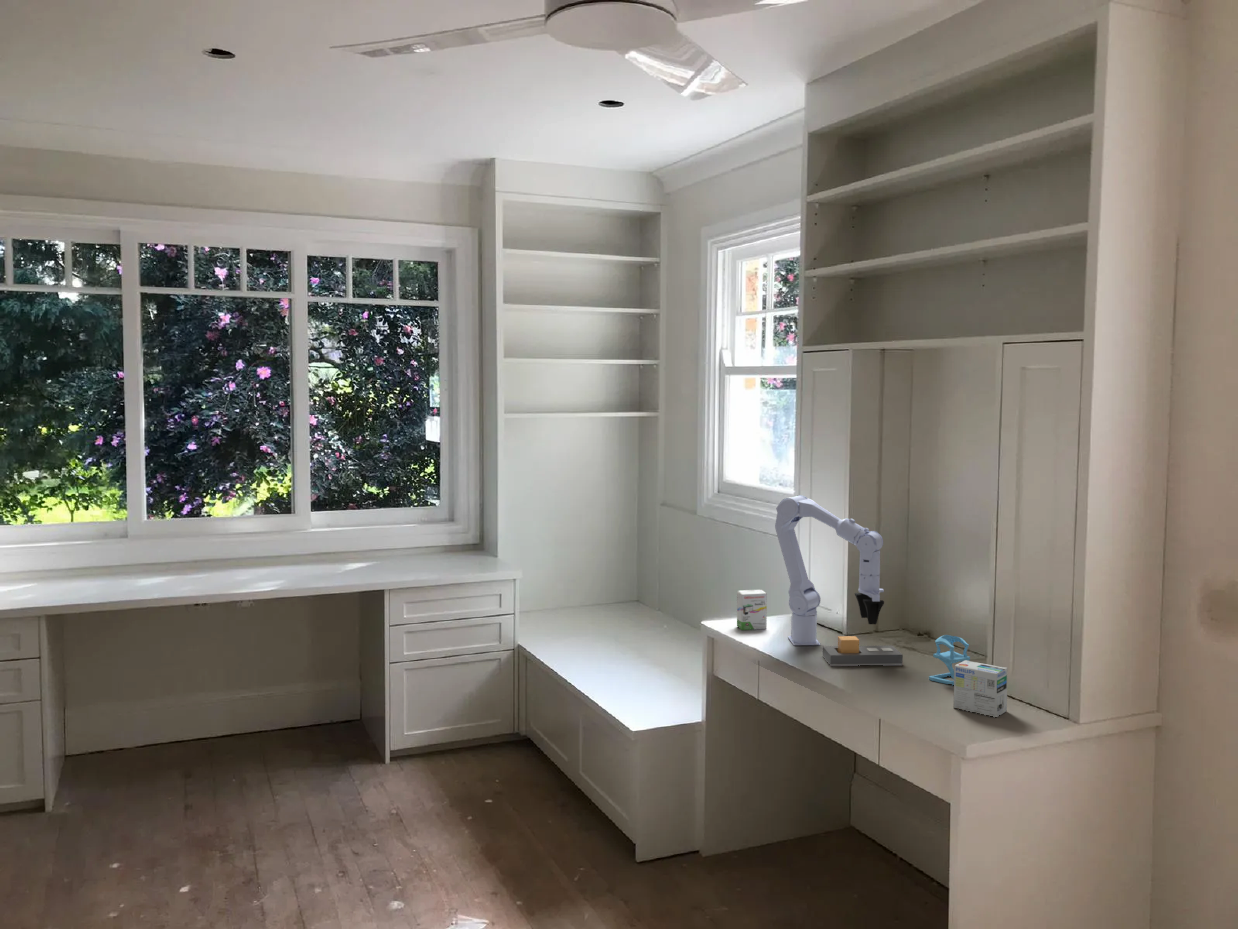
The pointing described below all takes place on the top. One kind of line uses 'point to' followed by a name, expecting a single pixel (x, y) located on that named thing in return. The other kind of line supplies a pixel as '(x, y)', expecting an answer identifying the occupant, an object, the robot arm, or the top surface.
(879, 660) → the power strip
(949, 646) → the chair
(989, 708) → the light bulb box
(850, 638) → the plug block
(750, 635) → the top surface
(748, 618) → the ink box
